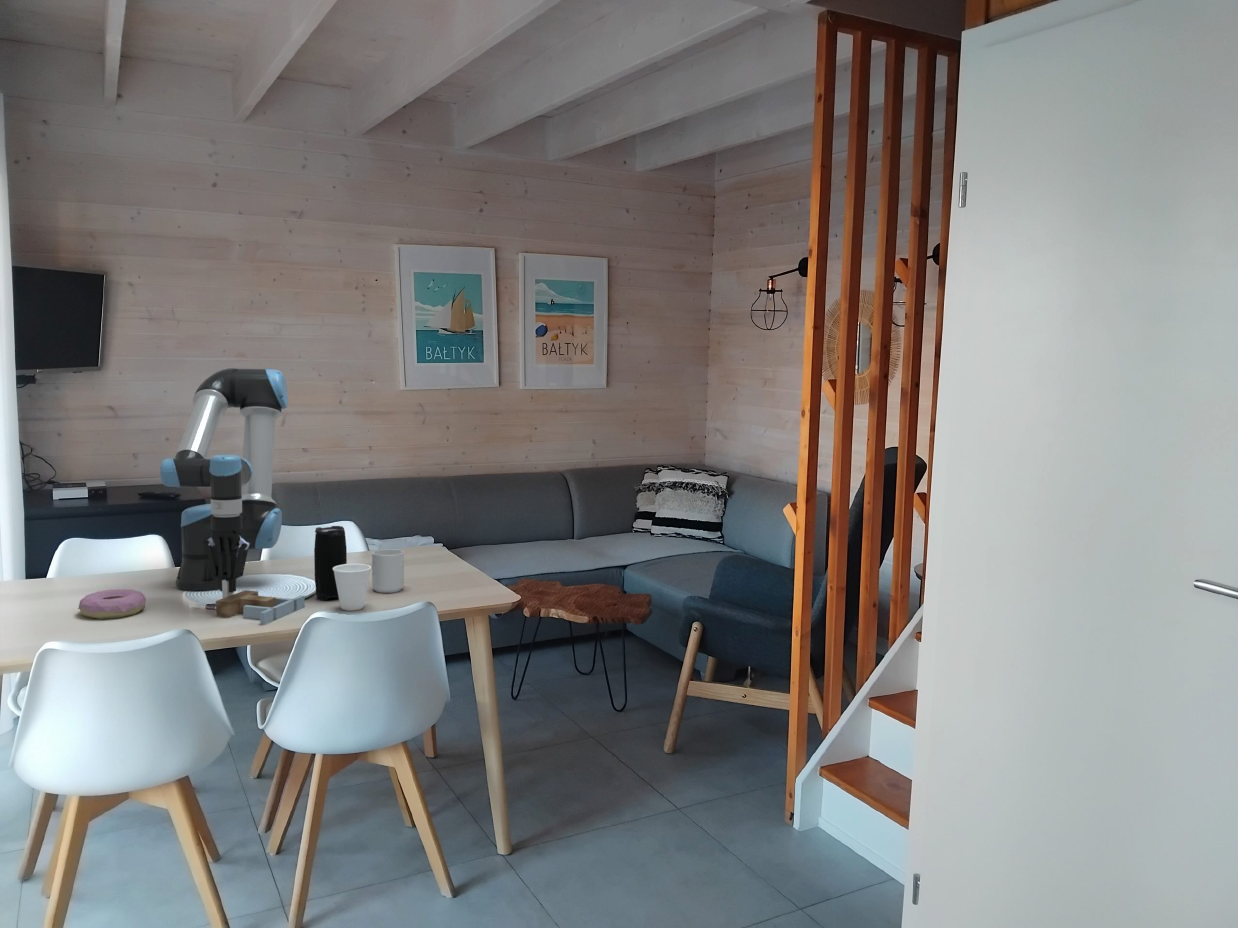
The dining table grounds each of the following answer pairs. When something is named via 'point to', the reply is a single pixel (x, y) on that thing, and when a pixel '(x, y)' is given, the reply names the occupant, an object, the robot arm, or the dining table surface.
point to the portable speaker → (328, 559)
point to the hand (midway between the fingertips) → (228, 603)
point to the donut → (112, 603)
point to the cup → (352, 585)
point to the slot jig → (274, 609)
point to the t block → (242, 603)
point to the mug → (387, 570)
